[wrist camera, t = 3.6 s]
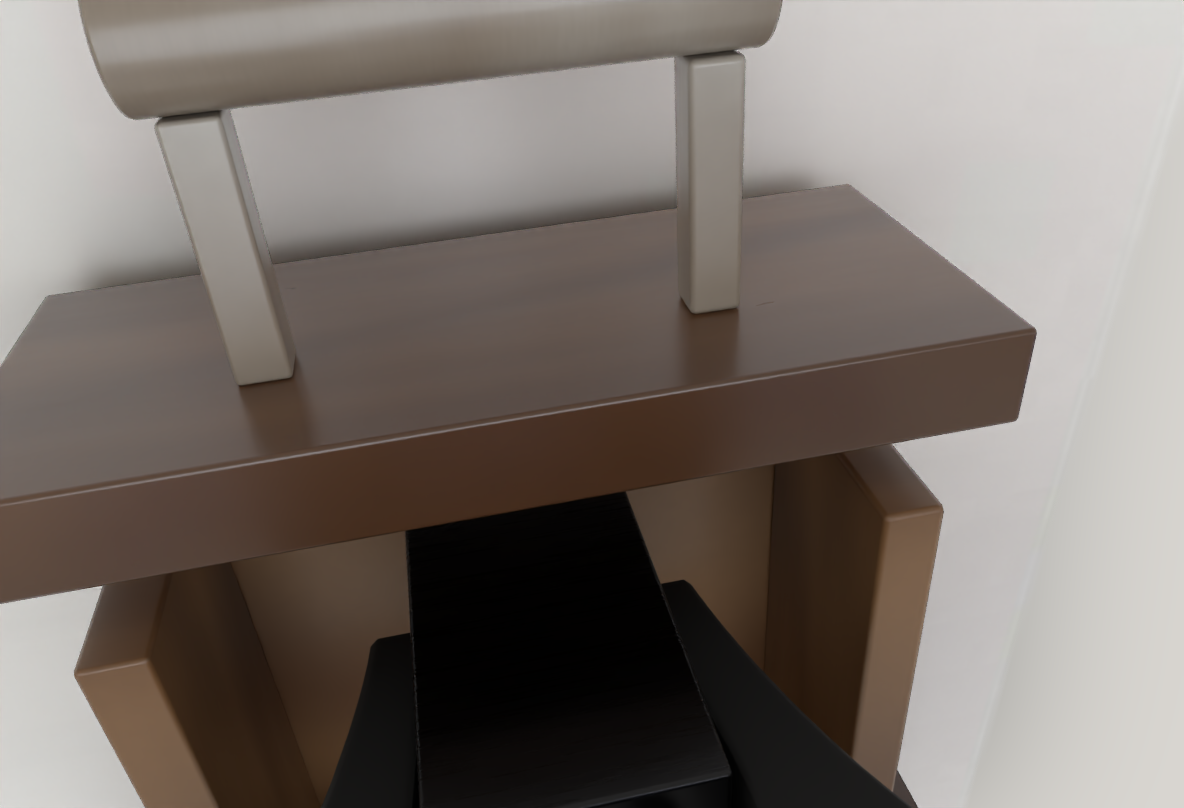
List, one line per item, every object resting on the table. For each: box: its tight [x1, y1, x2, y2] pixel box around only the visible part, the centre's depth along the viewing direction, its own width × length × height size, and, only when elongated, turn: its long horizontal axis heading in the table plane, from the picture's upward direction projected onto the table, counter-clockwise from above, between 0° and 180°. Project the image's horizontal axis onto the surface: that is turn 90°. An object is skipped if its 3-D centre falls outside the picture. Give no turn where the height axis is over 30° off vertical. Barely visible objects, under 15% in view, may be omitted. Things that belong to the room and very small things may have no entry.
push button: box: [405, 491, 732, 808], centre depth 12 cm, size 3×4×7 cm
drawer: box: [0, 0, 1037, 808], centre depth 14 cm, size 18×11×5 cm, turn 4°
